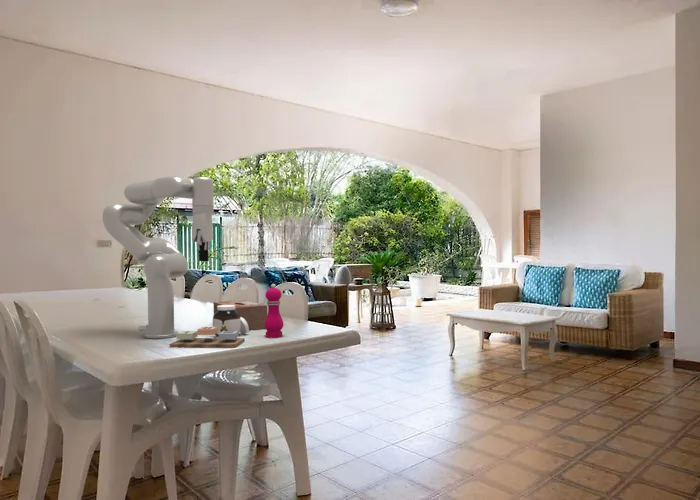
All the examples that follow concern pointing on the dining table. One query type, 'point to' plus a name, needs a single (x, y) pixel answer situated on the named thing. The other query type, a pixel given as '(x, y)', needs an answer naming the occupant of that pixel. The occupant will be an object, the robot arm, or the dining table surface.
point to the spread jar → (229, 320)
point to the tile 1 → (187, 335)
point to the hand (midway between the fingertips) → (203, 261)
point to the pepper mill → (273, 313)
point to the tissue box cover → (248, 312)
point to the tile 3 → (229, 335)
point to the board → (207, 343)
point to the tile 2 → (207, 330)
